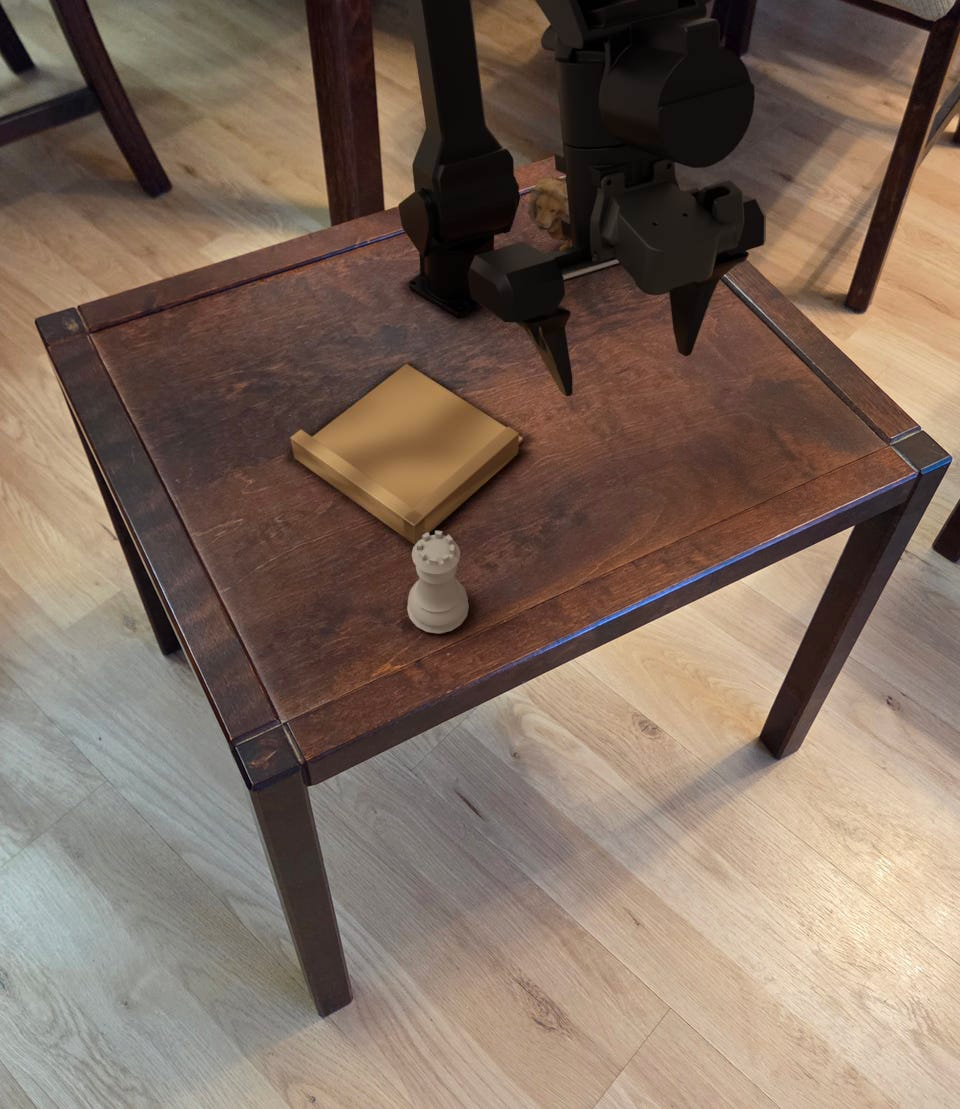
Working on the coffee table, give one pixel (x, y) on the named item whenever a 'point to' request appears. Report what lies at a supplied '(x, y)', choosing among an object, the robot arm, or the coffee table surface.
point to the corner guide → (408, 452)
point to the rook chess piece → (437, 585)
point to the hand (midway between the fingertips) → (626, 373)
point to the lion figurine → (550, 207)
